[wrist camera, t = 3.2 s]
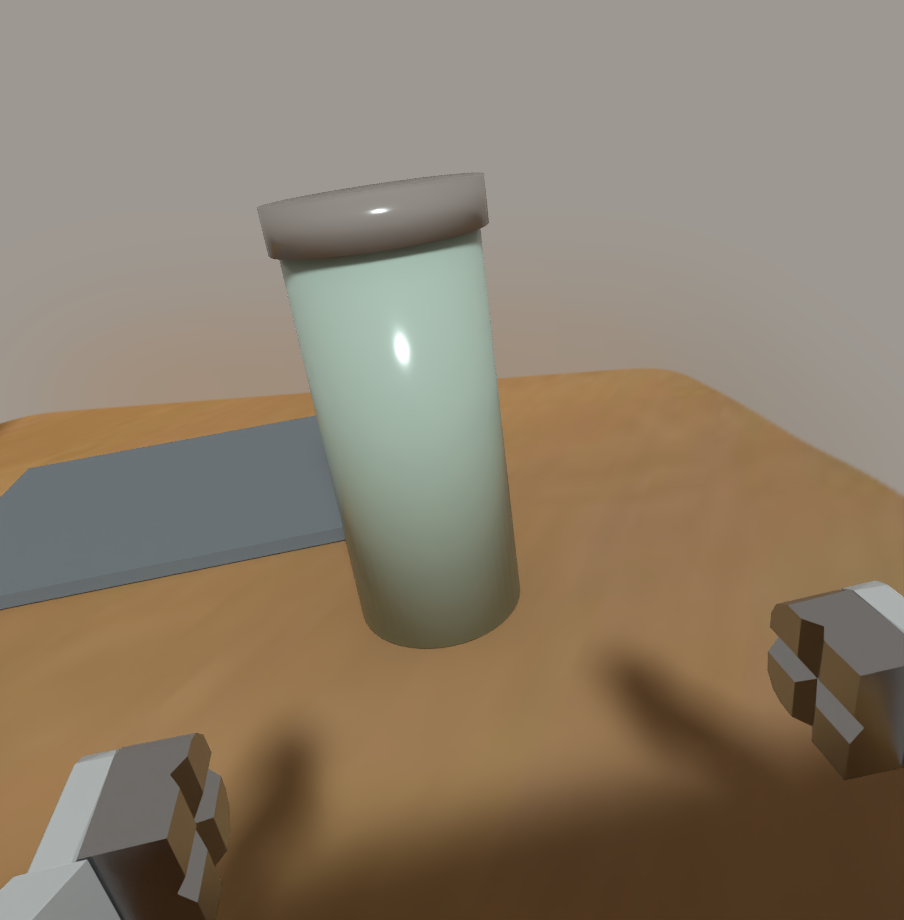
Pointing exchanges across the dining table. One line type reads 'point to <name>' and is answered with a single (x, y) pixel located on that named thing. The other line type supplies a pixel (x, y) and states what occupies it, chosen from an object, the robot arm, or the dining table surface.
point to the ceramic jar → (406, 397)
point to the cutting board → (165, 511)
